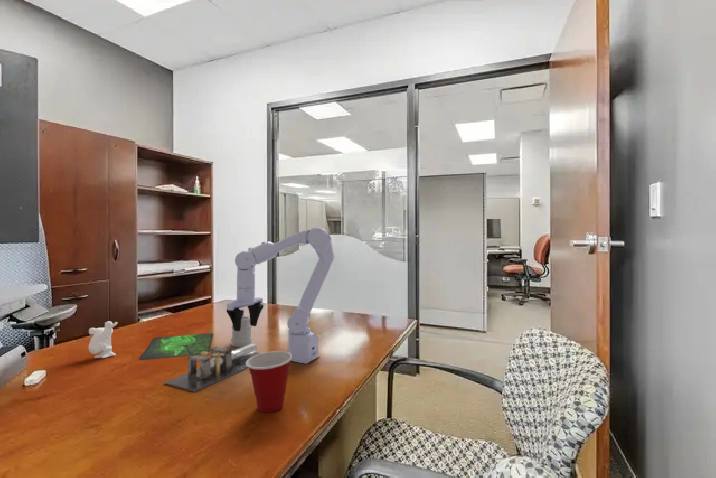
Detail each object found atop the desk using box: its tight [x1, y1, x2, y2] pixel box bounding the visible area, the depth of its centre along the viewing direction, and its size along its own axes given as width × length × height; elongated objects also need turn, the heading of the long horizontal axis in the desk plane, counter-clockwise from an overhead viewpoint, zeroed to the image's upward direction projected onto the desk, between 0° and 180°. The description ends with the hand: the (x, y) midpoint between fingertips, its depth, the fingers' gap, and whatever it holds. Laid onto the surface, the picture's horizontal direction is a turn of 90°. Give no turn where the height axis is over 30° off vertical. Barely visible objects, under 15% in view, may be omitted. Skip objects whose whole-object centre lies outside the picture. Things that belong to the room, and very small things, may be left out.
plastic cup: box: [246, 350, 292, 414], centre depth 88 cm, size 11×11×12 cm
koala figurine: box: [88, 320, 118, 359], centre depth 124 cm, size 8×7×12 cm
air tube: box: [199, 342, 258, 372], centre depth 115 cm, size 20×3×4 cm, turn 154°
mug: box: [230, 308, 253, 348], centre depth 141 cm, size 8×12×12 cm, turn 15°
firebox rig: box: [163, 346, 262, 393], centre depth 113 cm, size 12×31×6 cm, turn 154°
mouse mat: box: [138, 332, 214, 361], centre depth 137 cm, size 27×22×1 cm
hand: (245, 328), depth 123 cm, fingers open, 7 cm apart
